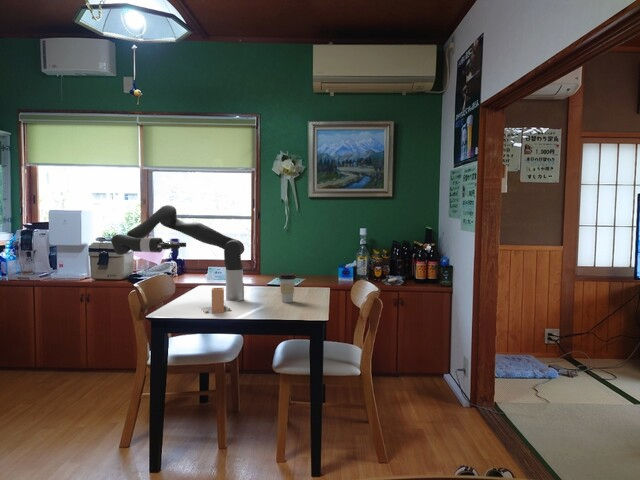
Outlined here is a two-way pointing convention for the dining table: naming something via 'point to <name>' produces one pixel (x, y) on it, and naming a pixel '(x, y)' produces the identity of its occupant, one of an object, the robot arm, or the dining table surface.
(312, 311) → the dining table surface
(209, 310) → the post plate
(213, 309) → the sleeve
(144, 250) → the robot arm
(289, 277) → the coffee cup
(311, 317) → the dining table surface
